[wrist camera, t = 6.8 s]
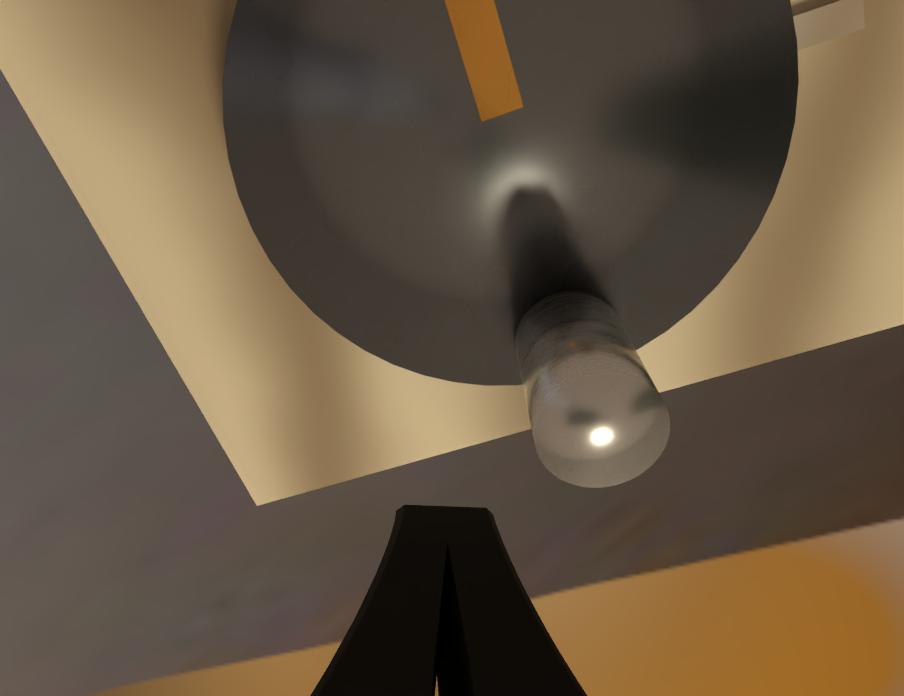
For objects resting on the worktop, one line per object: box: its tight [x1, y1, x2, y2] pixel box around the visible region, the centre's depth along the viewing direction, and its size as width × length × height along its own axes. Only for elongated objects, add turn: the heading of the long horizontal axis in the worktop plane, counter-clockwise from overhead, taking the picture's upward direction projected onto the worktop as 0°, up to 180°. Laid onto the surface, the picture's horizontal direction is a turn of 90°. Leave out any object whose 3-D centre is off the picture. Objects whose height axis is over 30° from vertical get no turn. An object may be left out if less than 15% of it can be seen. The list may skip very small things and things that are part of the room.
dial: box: [222, 0, 799, 488], centre depth 14 cm, size 12×12×5 cm
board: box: [0, 0, 904, 506], centre depth 16 cm, size 20×16×2 cm
